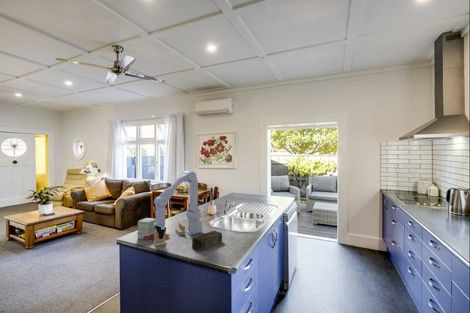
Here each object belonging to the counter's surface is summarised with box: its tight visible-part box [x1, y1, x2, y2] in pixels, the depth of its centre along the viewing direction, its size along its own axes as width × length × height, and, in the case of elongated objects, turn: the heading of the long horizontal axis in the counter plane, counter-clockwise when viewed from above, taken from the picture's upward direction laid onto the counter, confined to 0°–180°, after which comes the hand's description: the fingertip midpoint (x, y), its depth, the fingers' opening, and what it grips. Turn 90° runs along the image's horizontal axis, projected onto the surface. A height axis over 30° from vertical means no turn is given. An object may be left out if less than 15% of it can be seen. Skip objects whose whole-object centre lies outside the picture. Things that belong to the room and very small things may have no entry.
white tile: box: [152, 240, 168, 246], centre depth 140 cm, size 7×7×1 cm
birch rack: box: [165, 221, 186, 239], centre depth 154 cm, size 14×10×6 cm
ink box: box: [137, 217, 157, 241], centre depth 148 cm, size 9×9×12 cm
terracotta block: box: [153, 231, 167, 243], centre depth 140 cm, size 6×4×5 cm, turn 121°
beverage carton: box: [191, 230, 223, 252], centre depth 137 cm, size 8×19×7 cm, turn 142°
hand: (160, 237), depth 140 cm, fingers closed on terracotta block, 4 cm apart
